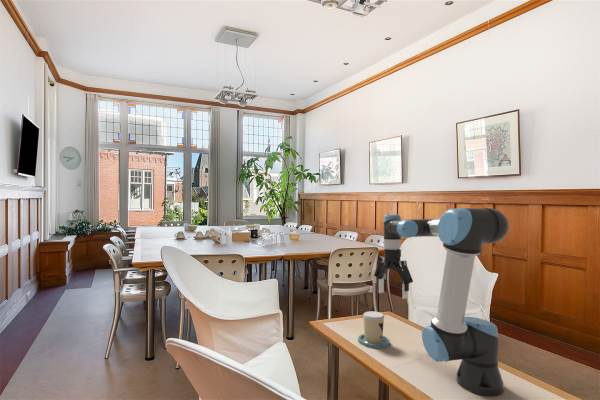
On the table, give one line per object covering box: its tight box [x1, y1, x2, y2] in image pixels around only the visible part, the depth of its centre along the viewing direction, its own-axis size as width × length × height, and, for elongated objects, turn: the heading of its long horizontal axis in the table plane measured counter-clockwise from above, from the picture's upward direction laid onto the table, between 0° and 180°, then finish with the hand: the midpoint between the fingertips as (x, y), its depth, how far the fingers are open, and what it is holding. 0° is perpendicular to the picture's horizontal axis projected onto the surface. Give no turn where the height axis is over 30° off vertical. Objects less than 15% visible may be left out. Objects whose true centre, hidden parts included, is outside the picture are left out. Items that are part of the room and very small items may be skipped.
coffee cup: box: [362, 310, 385, 344], centre depth 165 cm, size 9×9×12 cm
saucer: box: [357, 333, 390, 349], centre depth 165 cm, size 14×14×2 cm
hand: (392, 295), depth 164 cm, fingers open, 13 cm apart
